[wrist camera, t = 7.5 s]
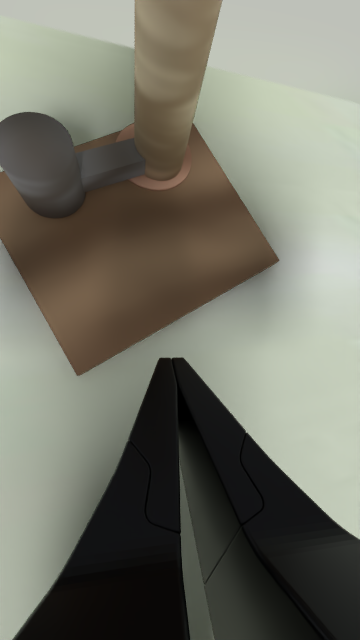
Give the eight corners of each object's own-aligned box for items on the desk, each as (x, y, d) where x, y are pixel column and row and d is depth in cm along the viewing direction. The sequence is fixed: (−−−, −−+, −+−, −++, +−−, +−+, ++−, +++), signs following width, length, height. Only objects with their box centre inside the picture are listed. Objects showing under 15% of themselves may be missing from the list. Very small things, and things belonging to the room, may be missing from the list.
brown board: (273, 264, 19) (280, 259, 18) (80, 375, 15) (76, 375, 14) (181, 118, 19) (184, 105, 18) (-23, 191, 16) (-33, 180, 15)
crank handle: (35, 226, 15) (-146, -30, 5) (12, 173, 15) (-201, -161, 6) (191, 176, 17) (264, -64, 8) (168, 132, 18) (211, -155, 8)
